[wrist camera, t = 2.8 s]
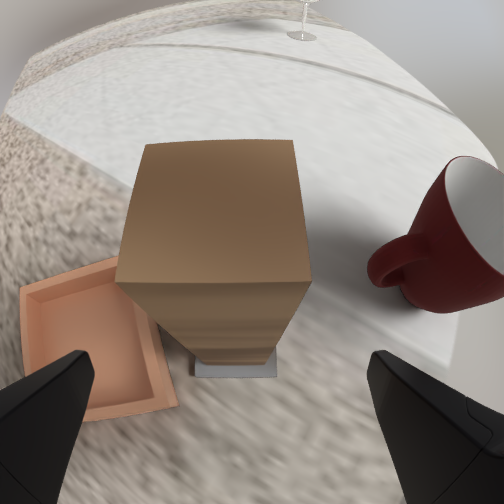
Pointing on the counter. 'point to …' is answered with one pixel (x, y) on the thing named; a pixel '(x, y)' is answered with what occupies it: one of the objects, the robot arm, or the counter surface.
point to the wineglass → (303, 25)
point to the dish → (97, 339)
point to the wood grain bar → (218, 249)
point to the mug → (450, 242)
